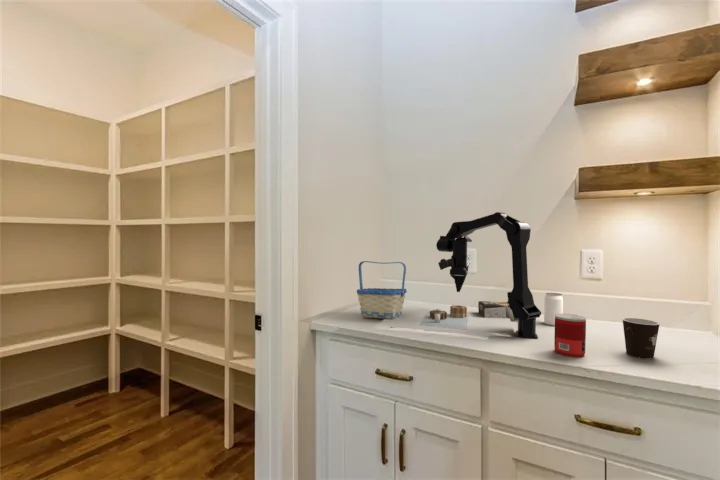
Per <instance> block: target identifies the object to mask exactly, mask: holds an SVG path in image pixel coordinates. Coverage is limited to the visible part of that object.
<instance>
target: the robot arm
mask: <svg viewBox="0 0 720 480" xmlns="http://www.w3.org/2000/svg"><path fill="white" fill-rule="evenodd" d="M495 225H498V226H499V227H498V228H500V229H502V230H503V231H504V232H505V234H506V239H507V241H508V243H509V245H510V247H511V261H512V263H511V264H512V266H511V267H512V283H513V287H512V290H511V291H507V293H506V294H507V295H506V296H507V301H506V302H507V304H509V307H510V309H511V310H512V312H513V316H514V318H517V319H518V321H517V330H515V334H516V336H517V337H518V338H519V337H520V338H527V339H528V338H531V339H538V338H539V336H538V334H537V333H536V332H537V331H536V330H537V326H536V325H537V319H539V318H540V317H541V314H542V311H541V310H540V308H539V307H537V305H536V304H535V299H534V296H533V293H532V291H531V290H530V288H529V278H528V277H529V276H528V273H529V272H528V258H527V257H528V256H527V255H528V254H527V246H528V245H529V241H530V237H531V226H530V225H529V224H528V223H527V222H524V221H520V220H518V219H517V218H514V217H512V216H511V215H508V214H507V213H506V212H499V211H498V212H494V213H493V214H492V213H491V214H489V215H486V216H481V217H479V218H475V219H473V220H465V221H464V220H462V221H455V222H453V223H452V224H451V226H450V228H449V230H448V232H446V234H445V235H440V236H439V239H438V240H437V242H436V249H437V250H438V251H439V252H444V253H448V252H449V253H452V255H450V256H451V257H450V258H448V259H445V258H441V259H440V261H439V262H438V267H439V269H440V270H444V269H446V268H449V267H450V269H449V275H450V277H451V278H453V280H454V284H455V285H454V286H455V289H456V293H460V292H461V290H462V288H463V285H464V283H465V281H466V278H467V275H468V272H469V266H468V264H467V263H468V262H467V261H468V242H469V243H472V242H473V241H472V239H471V238H470V237H469V235H471V234H473V233H474V232H475V231H478V230H482V229H485V228H488V227H492V226H495Z"/></svg>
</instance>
